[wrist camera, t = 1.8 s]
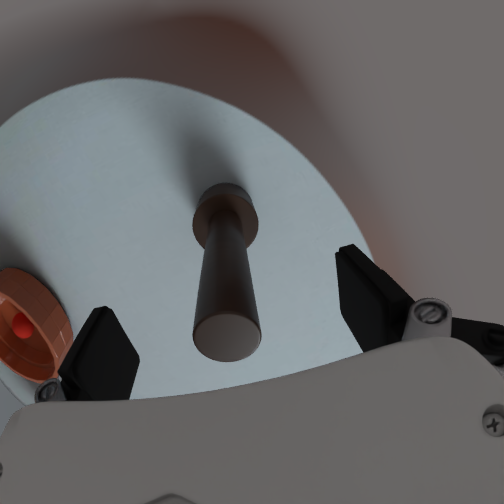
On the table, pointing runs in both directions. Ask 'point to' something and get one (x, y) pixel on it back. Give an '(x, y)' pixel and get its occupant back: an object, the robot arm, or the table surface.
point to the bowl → (45, 327)
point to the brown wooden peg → (226, 275)
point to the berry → (22, 325)
